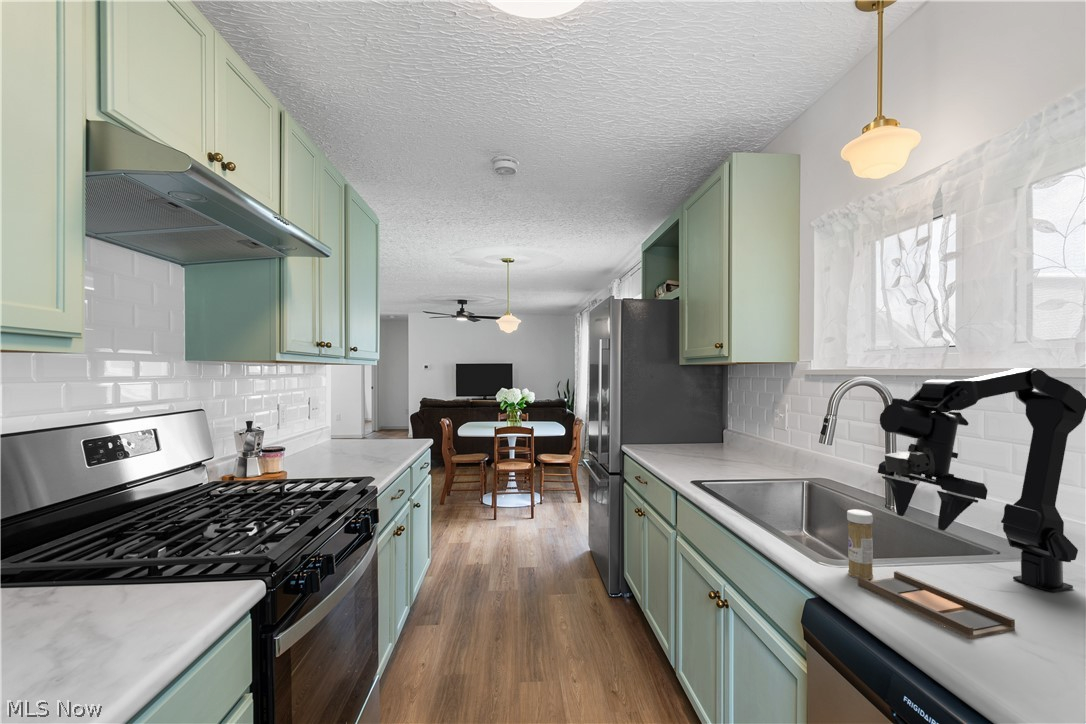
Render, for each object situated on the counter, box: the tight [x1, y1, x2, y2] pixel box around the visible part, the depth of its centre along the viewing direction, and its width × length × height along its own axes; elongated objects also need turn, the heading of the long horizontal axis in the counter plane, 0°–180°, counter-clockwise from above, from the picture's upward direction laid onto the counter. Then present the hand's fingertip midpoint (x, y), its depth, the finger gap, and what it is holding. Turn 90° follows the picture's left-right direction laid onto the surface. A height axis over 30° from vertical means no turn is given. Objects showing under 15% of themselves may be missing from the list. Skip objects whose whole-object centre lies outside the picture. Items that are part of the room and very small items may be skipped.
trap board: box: [857, 570, 1016, 640], centre depth 93 cm, size 10×21×2 cm, turn 15°
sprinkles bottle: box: [846, 508, 874, 580], centre depth 107 cm, size 5×5×13 cm
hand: (919, 522), depth 98 cm, fingers open, 9 cm apart
